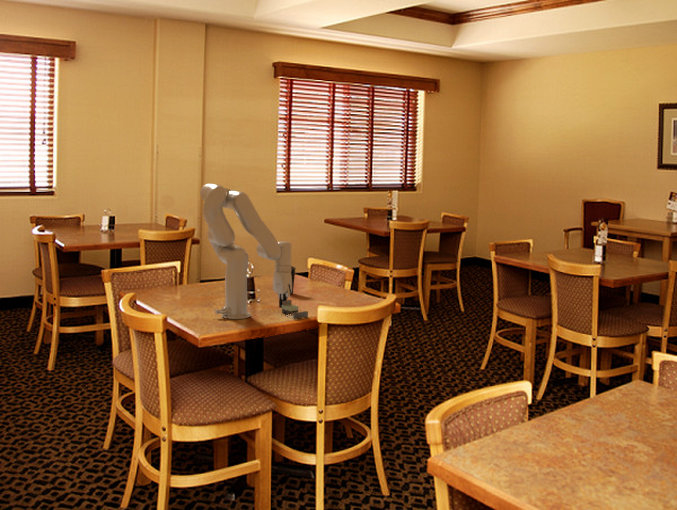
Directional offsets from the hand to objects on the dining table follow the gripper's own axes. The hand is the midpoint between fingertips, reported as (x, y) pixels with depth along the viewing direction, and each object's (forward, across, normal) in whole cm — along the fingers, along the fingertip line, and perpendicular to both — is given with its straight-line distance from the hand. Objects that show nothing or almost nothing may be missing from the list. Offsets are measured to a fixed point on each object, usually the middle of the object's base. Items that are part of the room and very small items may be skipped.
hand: (282, 307), depth 319 cm
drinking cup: (+2, -32, +23) cm, 39 cm away
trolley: (+2, +6, 0) cm, 6 cm away
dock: (+2, +12, 0) cm, 12 cm away
